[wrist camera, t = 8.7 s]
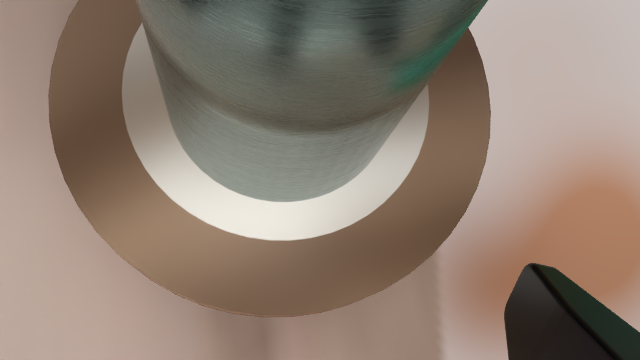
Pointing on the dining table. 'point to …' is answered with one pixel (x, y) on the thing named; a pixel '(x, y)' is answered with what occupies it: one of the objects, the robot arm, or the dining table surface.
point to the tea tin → (294, 83)
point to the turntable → (245, 212)
